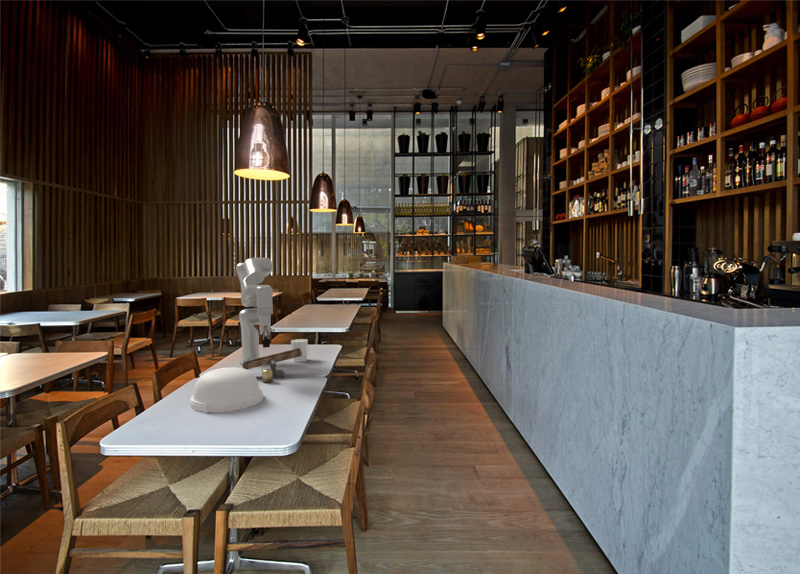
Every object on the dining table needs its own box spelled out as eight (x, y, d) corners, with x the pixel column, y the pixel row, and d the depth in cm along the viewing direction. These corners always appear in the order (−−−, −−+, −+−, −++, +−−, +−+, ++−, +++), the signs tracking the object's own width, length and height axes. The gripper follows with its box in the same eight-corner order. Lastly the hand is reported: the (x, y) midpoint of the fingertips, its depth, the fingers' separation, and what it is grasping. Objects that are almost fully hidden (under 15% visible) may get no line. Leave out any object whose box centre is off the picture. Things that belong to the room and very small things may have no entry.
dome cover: (239, 415, 191) (238, 380, 190) (172, 412, 197) (170, 378, 196) (275, 392, 223) (274, 362, 222) (216, 390, 228) (215, 360, 227)
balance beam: (243, 370, 246) (241, 362, 245) (244, 366, 253) (242, 359, 253) (302, 355, 253) (300, 348, 253) (301, 352, 261) (299, 345, 260)
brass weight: (260, 382, 240) (259, 370, 240) (269, 380, 244) (268, 368, 243) (266, 383, 237) (265, 371, 236) (274, 381, 241) (274, 369, 240)
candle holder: (306, 362, 282) (305, 342, 281) (289, 362, 282) (288, 342, 281) (309, 358, 292) (309, 339, 291) (293, 358, 292) (293, 339, 291)
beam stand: (263, 379, 245) (262, 361, 244) (263, 372, 260) (262, 355, 259) (283, 377, 248) (283, 359, 247) (282, 370, 262) (281, 354, 262)
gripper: (257, 309, 245) (258, 343, 246) (256, 313, 229) (258, 349, 230) (272, 309, 247) (273, 342, 248) (273, 312, 231) (274, 348, 232)
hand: (266, 345), depth 239 cm, fingers open, 9 cm apart
